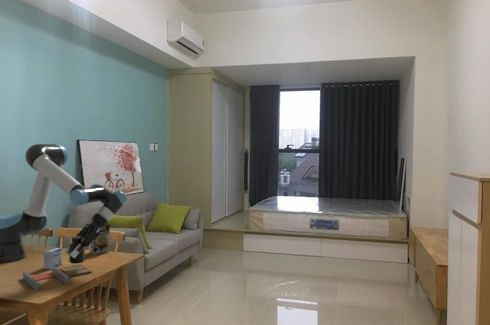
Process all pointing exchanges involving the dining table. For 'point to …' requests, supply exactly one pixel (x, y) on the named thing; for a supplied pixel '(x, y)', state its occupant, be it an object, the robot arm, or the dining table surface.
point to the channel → (55, 271)
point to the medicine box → (52, 258)
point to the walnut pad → (75, 270)
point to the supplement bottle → (72, 246)
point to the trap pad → (43, 276)
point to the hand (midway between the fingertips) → (69, 254)
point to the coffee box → (101, 241)
